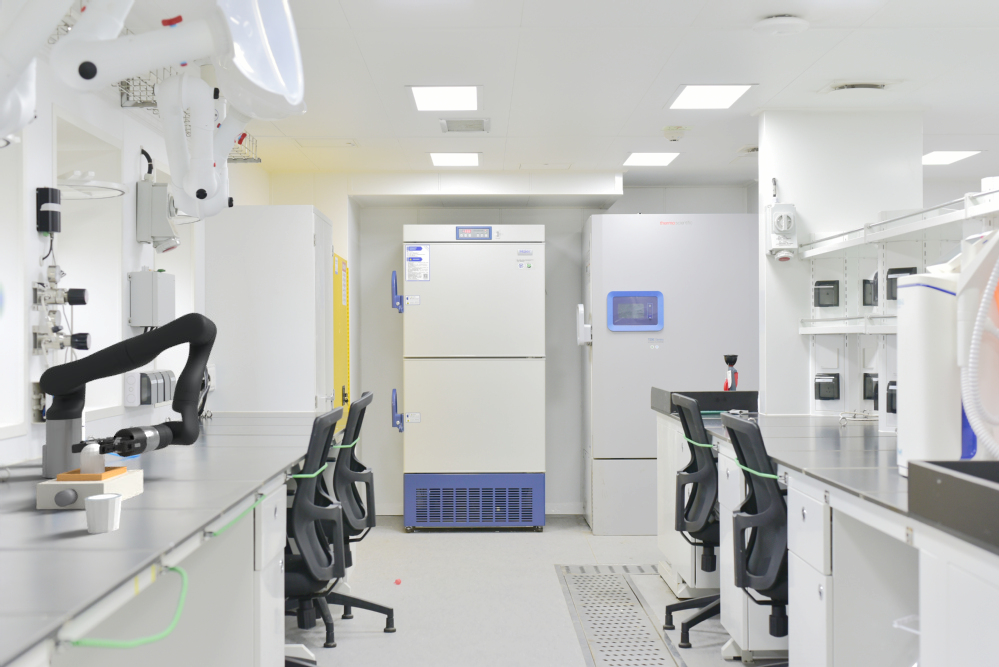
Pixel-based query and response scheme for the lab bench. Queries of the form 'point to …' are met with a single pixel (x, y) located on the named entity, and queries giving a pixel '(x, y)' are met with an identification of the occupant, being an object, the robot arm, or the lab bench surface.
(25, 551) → the lab bench surface
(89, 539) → the lab bench surface
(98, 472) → the capsule
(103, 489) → the plate
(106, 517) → the white tapered cup
